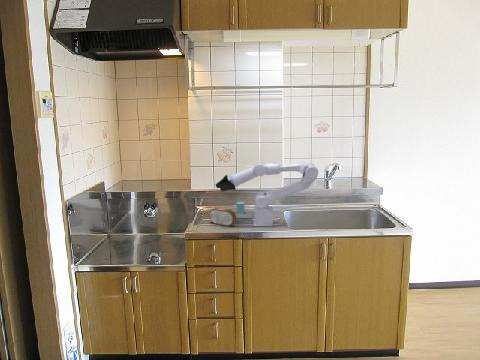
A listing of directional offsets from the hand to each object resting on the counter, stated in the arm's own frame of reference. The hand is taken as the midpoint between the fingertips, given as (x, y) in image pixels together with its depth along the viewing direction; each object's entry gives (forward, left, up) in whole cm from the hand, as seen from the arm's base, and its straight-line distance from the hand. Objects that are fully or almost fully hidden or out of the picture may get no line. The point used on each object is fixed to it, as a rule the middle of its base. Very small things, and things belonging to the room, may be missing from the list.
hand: (218, 188), depth 197 cm
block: (-11, -21, -19) cm, 30 cm away
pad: (-13, -12, -19) cm, 26 cm away
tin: (-2, +1, -19) cm, 19 cm away
